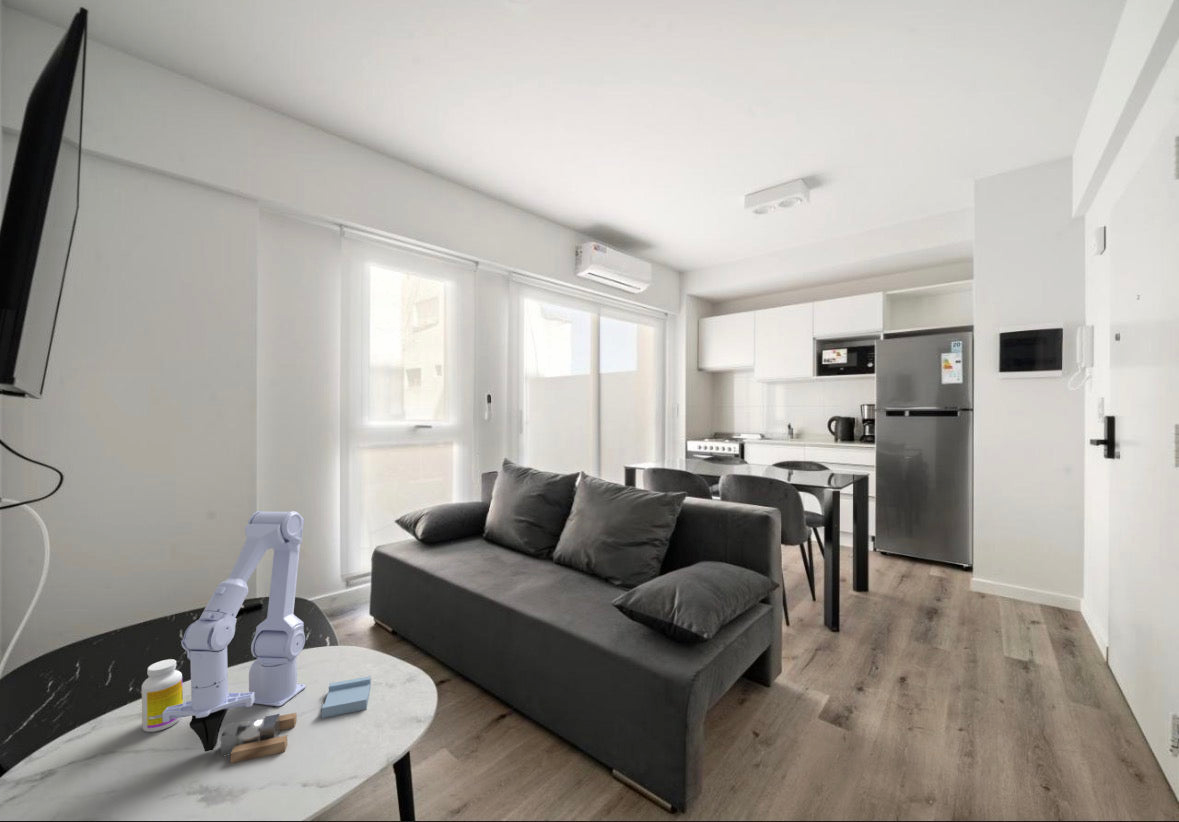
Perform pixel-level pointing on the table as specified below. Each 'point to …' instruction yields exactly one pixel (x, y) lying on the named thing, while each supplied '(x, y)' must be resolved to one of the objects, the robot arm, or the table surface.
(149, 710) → the supplement bottle
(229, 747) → the silver boxy piece
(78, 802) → the table surface
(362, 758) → the table surface
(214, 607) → the robot arm
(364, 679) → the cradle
